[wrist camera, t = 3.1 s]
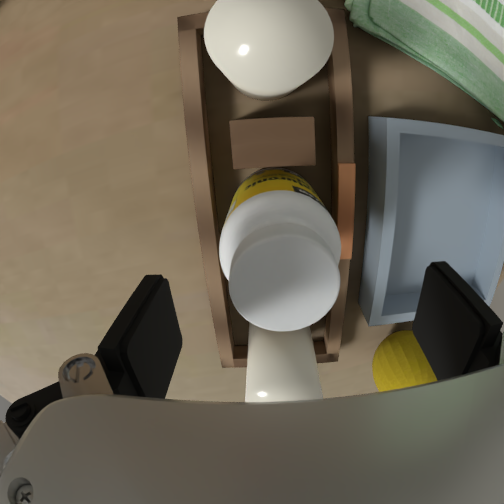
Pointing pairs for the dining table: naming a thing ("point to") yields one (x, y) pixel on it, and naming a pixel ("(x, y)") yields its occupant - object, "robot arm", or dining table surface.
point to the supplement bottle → (280, 251)
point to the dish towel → (445, 40)
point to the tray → (429, 212)
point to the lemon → (400, 363)
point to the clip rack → (269, 155)
